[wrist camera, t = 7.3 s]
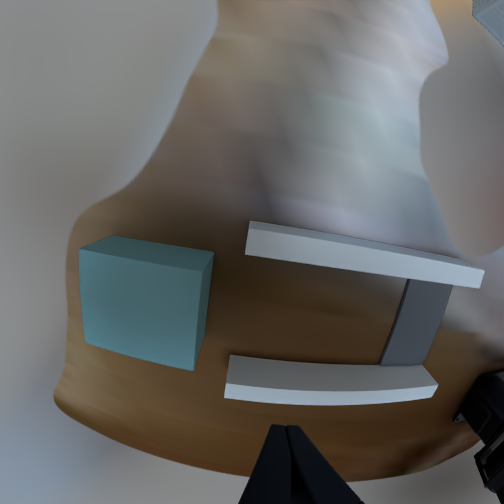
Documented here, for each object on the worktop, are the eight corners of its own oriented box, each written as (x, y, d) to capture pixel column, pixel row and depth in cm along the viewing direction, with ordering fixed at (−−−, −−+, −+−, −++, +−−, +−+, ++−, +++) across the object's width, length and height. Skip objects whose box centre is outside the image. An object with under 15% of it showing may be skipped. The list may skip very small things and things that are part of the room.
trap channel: (458, 258, 16) (484, 270, 13) (415, 375, 18) (431, 397, 15) (249, 220, 15) (248, 228, 12) (228, 368, 18) (224, 397, 15)
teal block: (214, 251, 16) (202, 271, 12) (205, 334, 17) (193, 370, 13) (114, 234, 16) (78, 248, 12) (113, 314, 17) (85, 342, 13)
